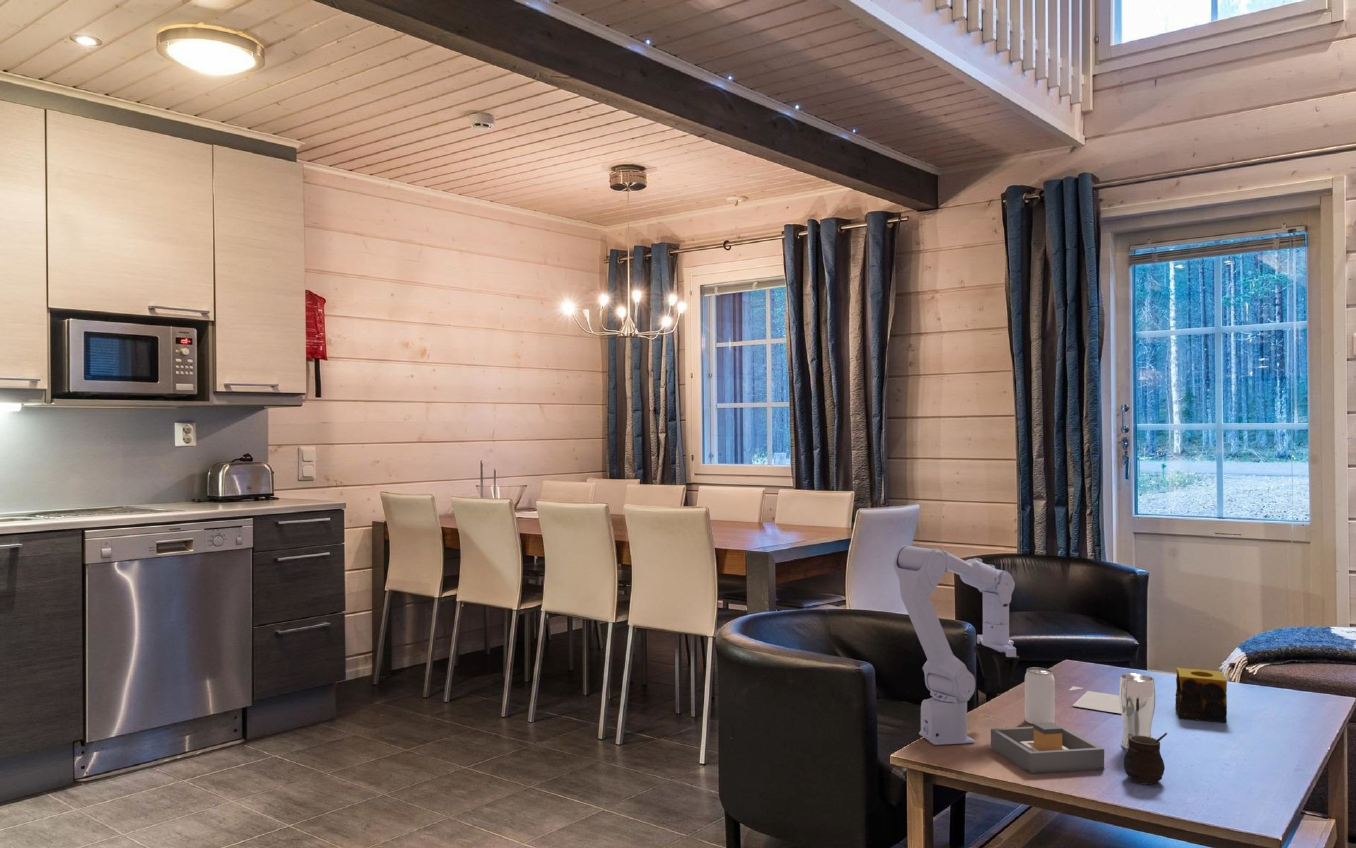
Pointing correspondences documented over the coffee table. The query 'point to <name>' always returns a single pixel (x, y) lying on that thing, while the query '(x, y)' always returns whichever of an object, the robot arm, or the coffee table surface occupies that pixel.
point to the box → (1071, 757)
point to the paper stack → (1098, 701)
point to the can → (1039, 696)
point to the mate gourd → (1144, 759)
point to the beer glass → (1136, 705)
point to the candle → (1201, 695)
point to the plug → (1047, 736)
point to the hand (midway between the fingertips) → (996, 681)
